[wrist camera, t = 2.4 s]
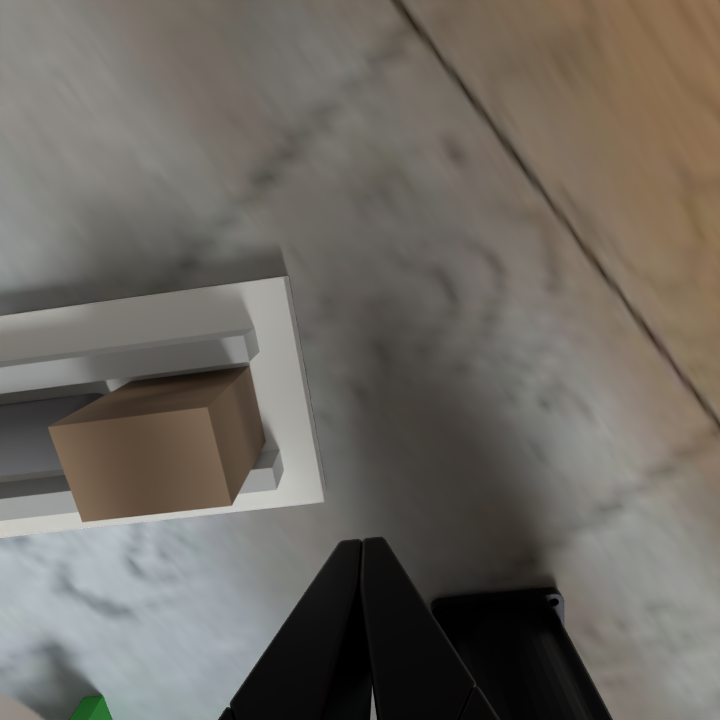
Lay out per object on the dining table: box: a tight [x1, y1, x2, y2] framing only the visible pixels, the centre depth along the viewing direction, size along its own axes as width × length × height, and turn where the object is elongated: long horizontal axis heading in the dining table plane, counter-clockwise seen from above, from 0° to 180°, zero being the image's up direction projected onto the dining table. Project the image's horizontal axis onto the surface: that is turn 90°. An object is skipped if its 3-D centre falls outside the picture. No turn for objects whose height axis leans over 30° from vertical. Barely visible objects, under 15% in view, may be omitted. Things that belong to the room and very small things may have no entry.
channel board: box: [0, 276, 326, 538], centre depth 16 cm, size 22×10×5 cm, turn 98°
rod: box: [0, 393, 105, 476], centre depth 16 cm, size 7×3×3 cm, turn 98°
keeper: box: [48, 366, 266, 522], centre depth 15 cm, size 5×3×4 cm
